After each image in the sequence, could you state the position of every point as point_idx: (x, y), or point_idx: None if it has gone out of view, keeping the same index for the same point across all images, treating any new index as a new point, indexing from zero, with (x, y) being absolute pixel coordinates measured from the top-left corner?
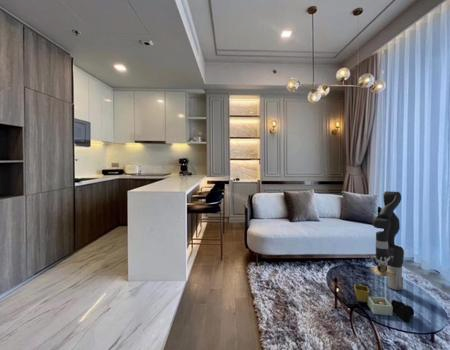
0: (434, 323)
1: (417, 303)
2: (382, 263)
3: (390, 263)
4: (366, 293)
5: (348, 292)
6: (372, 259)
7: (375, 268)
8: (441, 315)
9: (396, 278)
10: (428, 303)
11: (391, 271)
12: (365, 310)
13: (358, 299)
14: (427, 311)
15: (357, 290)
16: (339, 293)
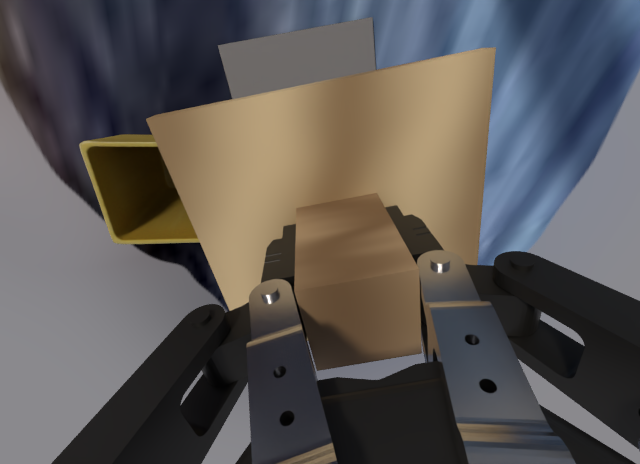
0: (491, 263)
1: (539, 63)
2: (379, 298)
3: (556, 351)
4: None
5: (78, 63)
6: (86, 429)
7: (246, 157)
8: (579, 176)
9: None
10: (619, 30)
11: (479, 219)
12: (211, 271)
13: (164, 200)
14: (533, 158)
15: (129, 243)
16: (21, 113)
